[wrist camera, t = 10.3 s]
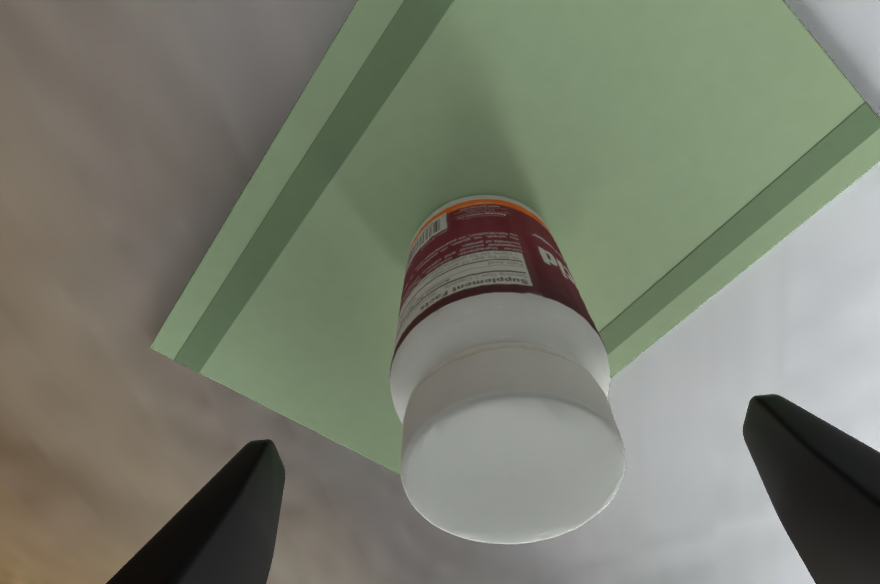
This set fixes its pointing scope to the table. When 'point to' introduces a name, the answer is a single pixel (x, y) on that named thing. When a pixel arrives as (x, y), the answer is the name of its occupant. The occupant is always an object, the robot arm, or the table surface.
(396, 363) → the pill bottle
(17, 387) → the table surface
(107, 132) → the table surface
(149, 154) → the table surface
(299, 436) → the table surface
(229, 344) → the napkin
